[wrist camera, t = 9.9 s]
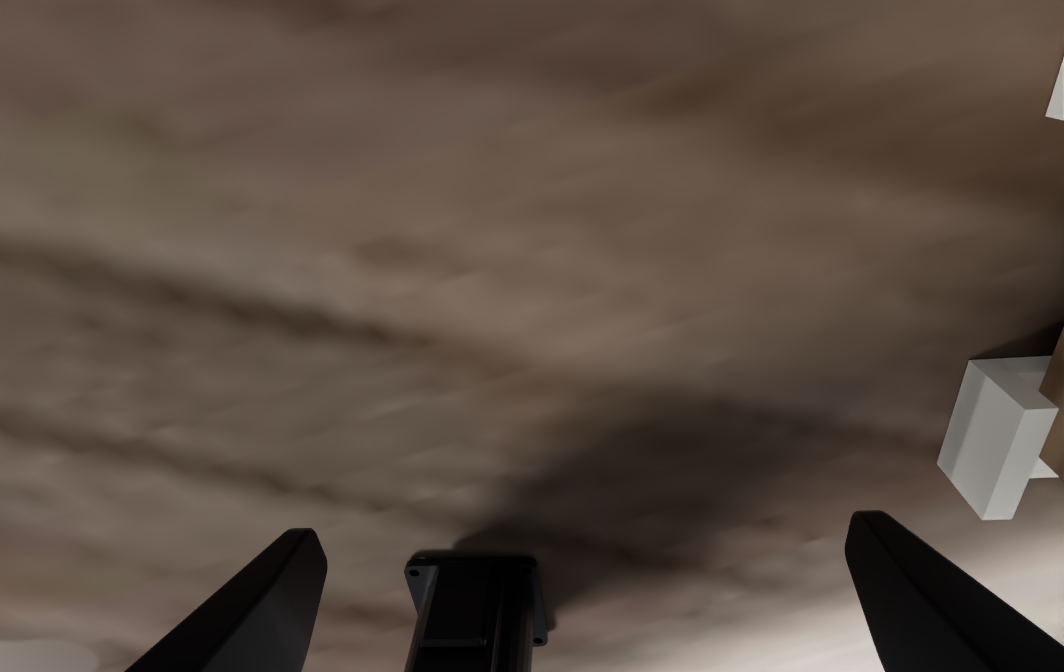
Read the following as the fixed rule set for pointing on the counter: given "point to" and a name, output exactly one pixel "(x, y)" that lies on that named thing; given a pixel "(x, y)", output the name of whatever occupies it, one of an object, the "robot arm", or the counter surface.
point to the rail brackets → (1000, 420)
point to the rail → (1060, 388)
